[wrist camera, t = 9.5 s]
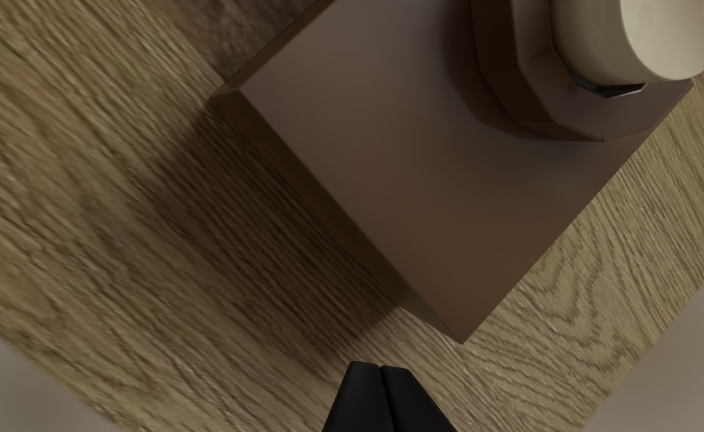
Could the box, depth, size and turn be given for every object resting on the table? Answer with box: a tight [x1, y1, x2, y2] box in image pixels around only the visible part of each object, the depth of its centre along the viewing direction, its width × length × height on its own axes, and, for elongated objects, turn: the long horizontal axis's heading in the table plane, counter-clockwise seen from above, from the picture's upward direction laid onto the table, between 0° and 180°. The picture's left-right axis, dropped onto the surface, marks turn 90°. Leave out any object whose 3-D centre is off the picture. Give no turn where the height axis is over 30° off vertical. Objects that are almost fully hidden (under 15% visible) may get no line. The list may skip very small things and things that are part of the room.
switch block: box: [211, 0, 694, 344], centre depth 18 cm, size 12×10×6 cm
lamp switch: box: [550, 0, 704, 86], centre depth 15 cm, size 4×4×2 cm
